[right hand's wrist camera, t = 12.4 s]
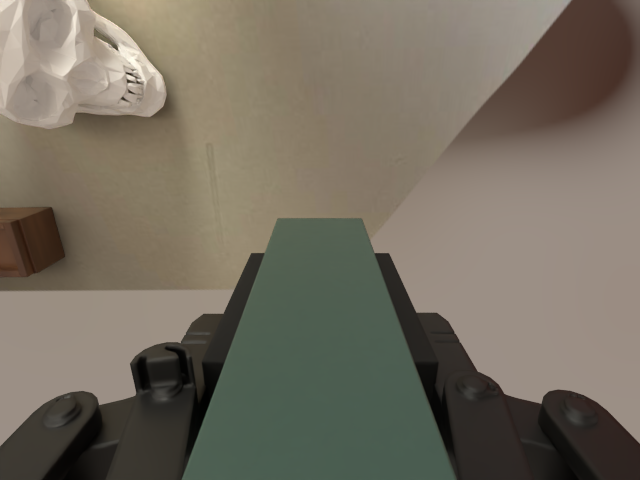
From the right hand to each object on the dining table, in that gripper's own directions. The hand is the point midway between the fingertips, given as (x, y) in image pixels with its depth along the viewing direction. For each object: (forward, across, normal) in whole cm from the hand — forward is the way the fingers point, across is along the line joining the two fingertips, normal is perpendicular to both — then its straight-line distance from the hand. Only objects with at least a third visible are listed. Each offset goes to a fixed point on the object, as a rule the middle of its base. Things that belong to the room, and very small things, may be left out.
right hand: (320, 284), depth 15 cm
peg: (+3, 0, 0) cm, 3 cm away
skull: (+30, -26, +12) cm, 41 cm away
